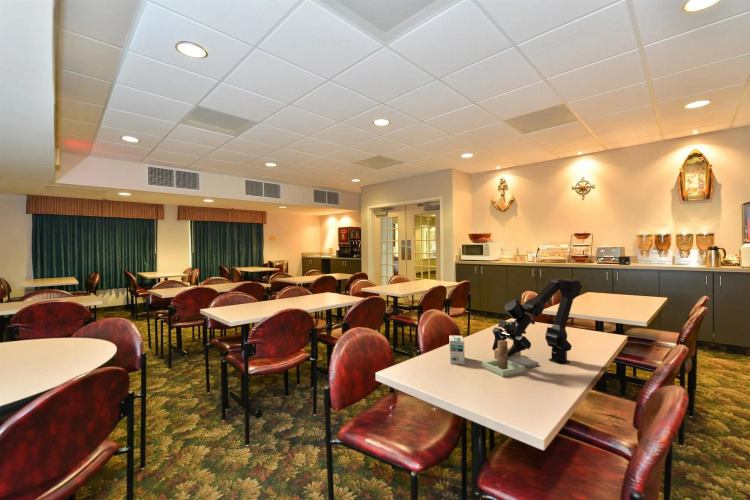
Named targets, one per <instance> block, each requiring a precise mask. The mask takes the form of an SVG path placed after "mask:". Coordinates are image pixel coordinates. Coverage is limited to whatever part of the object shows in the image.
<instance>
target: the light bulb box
mask: <svg viewBox="0 0 750 500" xmlns="http://www.w3.org/2000/svg"><path fill="white" fill-rule="evenodd" d="M463 336H464V335H453V334H452V335H449V338H448V339H449V340H448V341H449V343H448V344H449V360H450V361H449V363H450V364H452V365H453V364H454V365H465V359H466V358H465V357H466V356H465V340H464V337H463Z"/></svg>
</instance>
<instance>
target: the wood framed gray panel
mask: <svg viewBox="0 0 750 500" xmlns="http://www.w3.org/2000/svg"><path fill="white" fill-rule="evenodd" d="M508 361H511V362H513V363H516V364H519V365H521V366H524V369H529V368H533V367H538V366H539V365H540V363H539V362H540V361H536V360H534V359H531V358H528V357H525V356H523V355H521V356H520V355H513V356H509V357H508Z"/></svg>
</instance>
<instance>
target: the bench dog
mask: <svg viewBox="0 0 750 500" xmlns="http://www.w3.org/2000/svg"><path fill="white" fill-rule="evenodd" d="M510 348H511V347H507V351H509V350H510ZM493 351H494V352H493V353H494V355H493V357H494V360H497V359H498V349H495V350H493ZM513 355H520V356H522V351H520V352H517V353H515V354H513ZM513 355H511V356H513Z"/></svg>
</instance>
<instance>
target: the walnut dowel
mask: <svg viewBox="0 0 750 500" xmlns="http://www.w3.org/2000/svg"><path fill="white" fill-rule="evenodd" d="M507 348H508V341H507V340H498V348H497V350H498V368H499V369H502V370H505V369H508V356H507V353H508V351H507Z"/></svg>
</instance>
